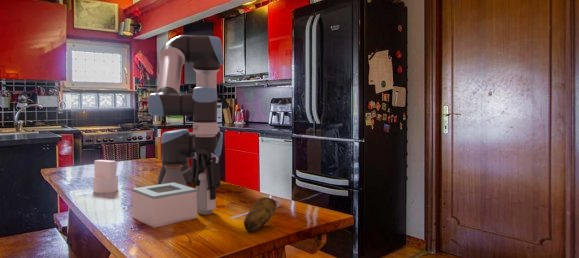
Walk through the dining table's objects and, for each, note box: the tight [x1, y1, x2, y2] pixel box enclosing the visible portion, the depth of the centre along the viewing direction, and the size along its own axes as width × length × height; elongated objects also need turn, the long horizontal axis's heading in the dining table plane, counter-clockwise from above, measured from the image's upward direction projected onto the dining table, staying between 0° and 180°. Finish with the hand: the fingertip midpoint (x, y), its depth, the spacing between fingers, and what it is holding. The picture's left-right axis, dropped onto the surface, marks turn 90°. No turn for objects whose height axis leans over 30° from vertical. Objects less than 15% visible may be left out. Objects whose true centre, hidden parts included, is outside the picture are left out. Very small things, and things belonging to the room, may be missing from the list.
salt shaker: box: [197, 171, 214, 216], centre depth 126 cm, size 6×6×13 cm
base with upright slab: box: [92, 159, 119, 194], centre depth 157 cm, size 9×9×12 cm
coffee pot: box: [161, 165, 191, 186], centre depth 144 cm, size 21×12×15 cm, turn 127°
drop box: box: [131, 182, 198, 229], centre depth 121 cm, size 14×14×9 cm
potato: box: [243, 196, 278, 233], centre depth 112 cm, size 8×13×8 cm, turn 136°
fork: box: [230, 201, 284, 219], centre depth 128 cm, size 3×24×2 cm, turn 136°
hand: (205, 207), depth 127 cm, fingers closed on salt shaker, 6 cm apart
